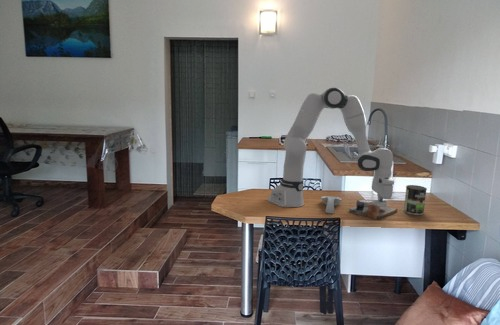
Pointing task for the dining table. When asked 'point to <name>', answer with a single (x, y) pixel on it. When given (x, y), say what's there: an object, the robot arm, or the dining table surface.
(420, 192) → the coffee can
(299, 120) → the robot arm
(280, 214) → the dining table surface
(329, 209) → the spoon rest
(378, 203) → the latch bar
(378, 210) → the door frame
